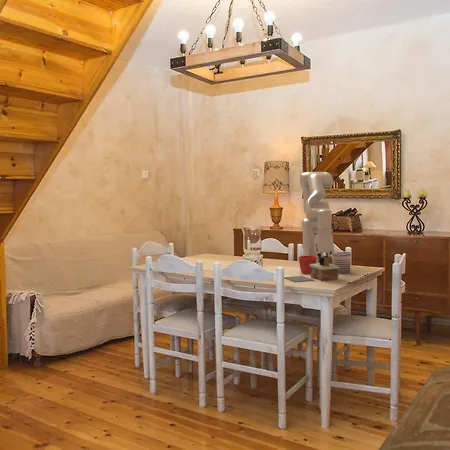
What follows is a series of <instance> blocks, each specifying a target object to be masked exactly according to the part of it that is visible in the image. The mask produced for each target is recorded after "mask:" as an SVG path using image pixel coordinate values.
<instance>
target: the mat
mask: <svg viewBox="0 0 450 450" xmlns="http://www.w3.org/2000/svg"><path fill="white" fill-rule="evenodd" d="M284 280H287V281H290V282H293V283H301V282H302V283H303V282H313V281H315V280H316V279H314V278H311V277H307V276H303V275H296V276H295V275H294V276H285V278H284Z"/></svg>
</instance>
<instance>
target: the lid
mask: <svg viewBox="0 0 450 450" xmlns="http://www.w3.org/2000/svg"><path fill="white" fill-rule="evenodd" d="M323 258H324V265H320V263H319V262H318V264H310V267H314V268H317V269H321V270H327V269H338V268H339V266H336V265H333V264H332V263H330V258H328V257H326V256H324V255H323Z"/></svg>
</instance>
